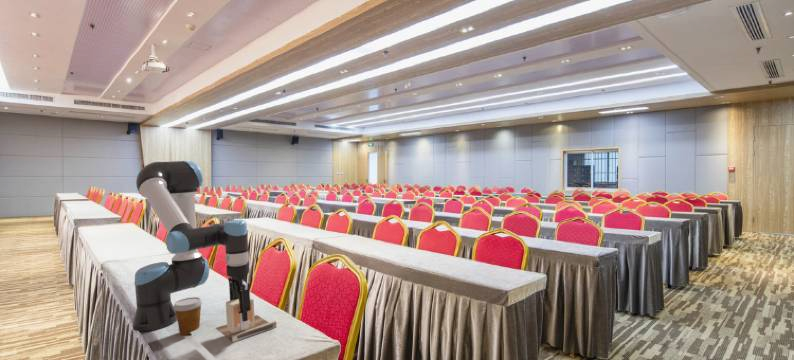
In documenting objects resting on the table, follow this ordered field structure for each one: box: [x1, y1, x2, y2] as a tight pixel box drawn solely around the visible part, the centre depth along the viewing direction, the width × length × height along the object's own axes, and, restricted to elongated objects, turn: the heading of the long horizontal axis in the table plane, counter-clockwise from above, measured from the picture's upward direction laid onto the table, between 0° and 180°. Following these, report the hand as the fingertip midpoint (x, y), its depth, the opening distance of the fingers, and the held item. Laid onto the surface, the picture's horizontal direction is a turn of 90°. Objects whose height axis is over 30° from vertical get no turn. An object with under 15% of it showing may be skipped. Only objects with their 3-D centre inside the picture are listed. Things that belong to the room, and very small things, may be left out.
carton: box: [225, 297, 255, 333], centre depth 140 cm, size 8×5×10 cm, turn 134°
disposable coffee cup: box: [173, 296, 203, 337], centre depth 146 cm, size 10×10×12 cm
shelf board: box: [215, 314, 278, 343], centre depth 145 cm, size 17×16×4 cm
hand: (241, 326), depth 141 cm, fingers closed on carton, 5 cm apart
